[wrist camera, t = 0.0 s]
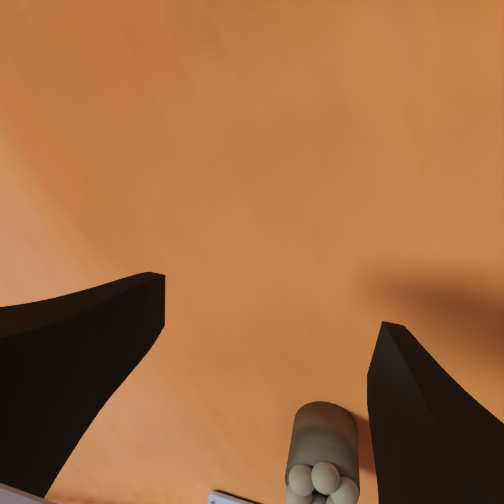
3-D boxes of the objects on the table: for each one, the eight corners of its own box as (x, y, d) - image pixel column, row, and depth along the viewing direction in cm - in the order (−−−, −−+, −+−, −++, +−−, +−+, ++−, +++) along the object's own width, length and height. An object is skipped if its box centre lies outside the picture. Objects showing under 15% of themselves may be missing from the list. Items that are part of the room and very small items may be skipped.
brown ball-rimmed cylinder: (350, 456, 26) (351, 544, 20) (290, 439, 26) (277, 519, 21) (363, 411, 24) (369, 493, 19) (299, 394, 25) (287, 469, 20)
